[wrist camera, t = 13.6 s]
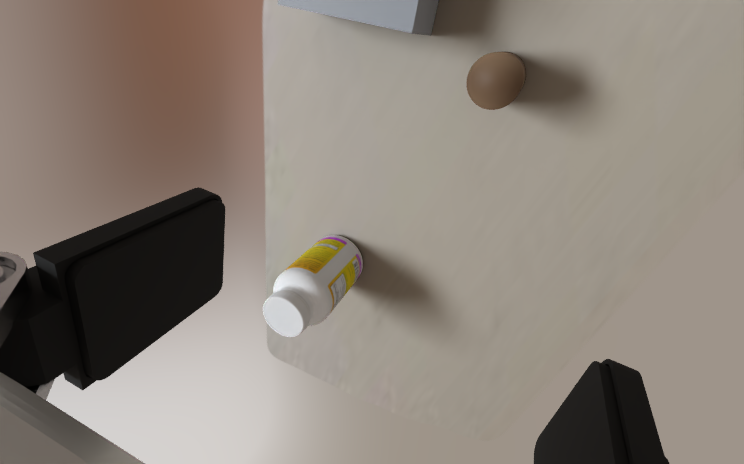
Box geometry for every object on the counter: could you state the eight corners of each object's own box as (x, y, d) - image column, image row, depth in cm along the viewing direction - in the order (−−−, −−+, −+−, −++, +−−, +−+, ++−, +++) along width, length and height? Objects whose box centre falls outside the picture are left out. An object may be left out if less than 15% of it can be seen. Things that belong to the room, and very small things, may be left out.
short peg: (486, 47, 34) (475, 46, 29) (533, 57, 33) (530, 58, 28) (472, 95, 36) (460, 102, 31) (516, 105, 35) (511, 115, 30)
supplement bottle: (307, 249, 50) (241, 304, 39) (340, 223, 47) (278, 275, 36) (340, 289, 51) (284, 354, 40) (375, 266, 47) (325, 331, 36)
